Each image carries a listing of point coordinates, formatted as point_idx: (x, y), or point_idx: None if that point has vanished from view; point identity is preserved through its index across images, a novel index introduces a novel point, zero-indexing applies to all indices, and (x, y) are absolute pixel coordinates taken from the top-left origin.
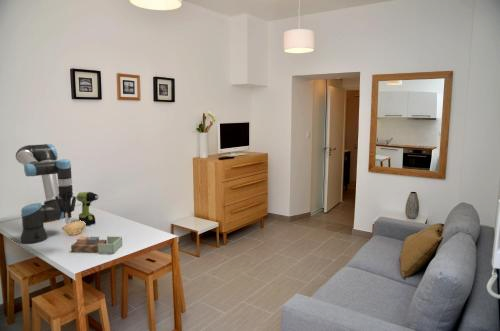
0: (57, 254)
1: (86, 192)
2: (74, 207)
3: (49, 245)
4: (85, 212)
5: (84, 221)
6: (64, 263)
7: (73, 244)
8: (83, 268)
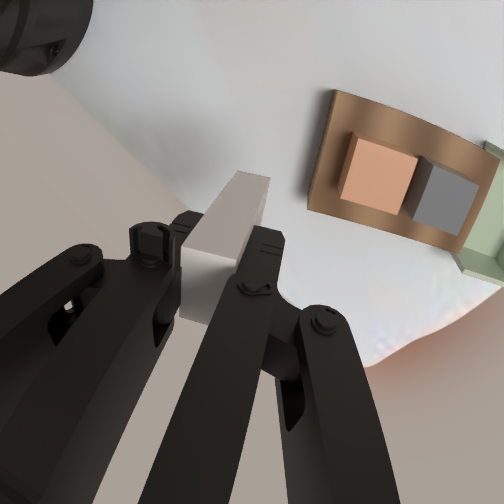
0: None
1: None
2: (366, 395)
3: (141, 80)
4: None
5: None
6: None
7: (317, 190)
8: (383, 353)
